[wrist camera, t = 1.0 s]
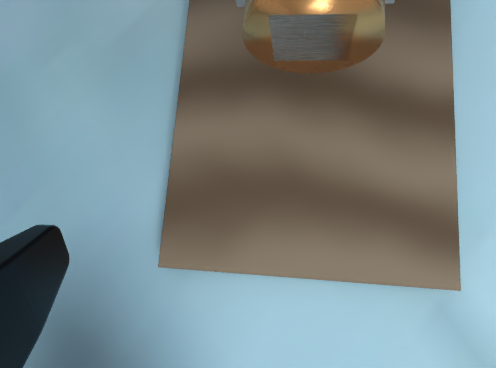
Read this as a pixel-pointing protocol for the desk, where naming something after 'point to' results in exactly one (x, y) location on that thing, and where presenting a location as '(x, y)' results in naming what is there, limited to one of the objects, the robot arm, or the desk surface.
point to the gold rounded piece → (313, 33)
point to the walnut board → (316, 157)
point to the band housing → (241, 3)
